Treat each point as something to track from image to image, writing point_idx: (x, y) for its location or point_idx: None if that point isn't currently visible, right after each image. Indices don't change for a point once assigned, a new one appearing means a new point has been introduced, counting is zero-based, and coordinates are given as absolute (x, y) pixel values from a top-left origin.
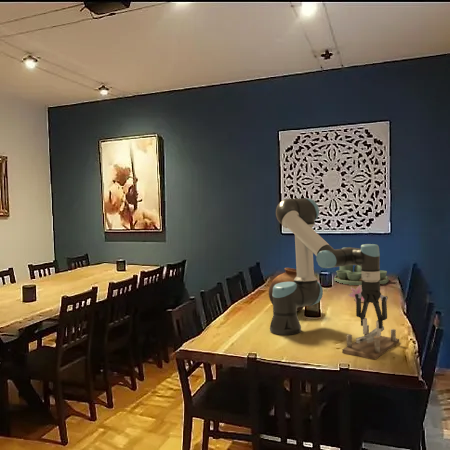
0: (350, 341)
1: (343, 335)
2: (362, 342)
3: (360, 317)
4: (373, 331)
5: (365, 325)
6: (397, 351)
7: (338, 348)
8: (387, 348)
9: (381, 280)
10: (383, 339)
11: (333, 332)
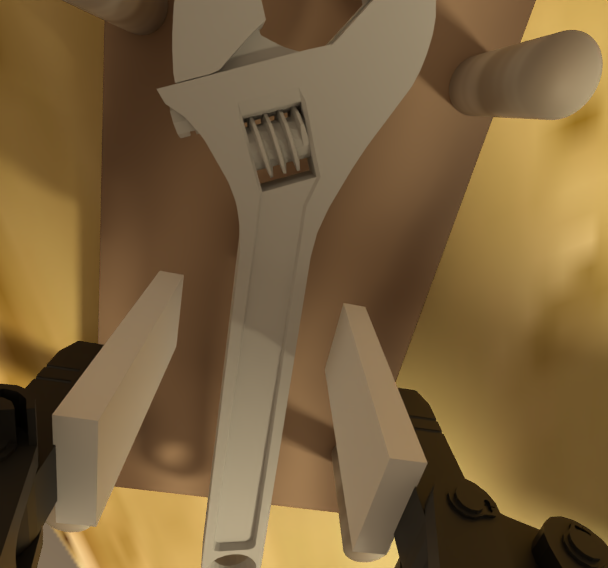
0: (496, 55)
1: (527, 465)
2: (360, 292)
3: (491, 502)
4: (264, 424)
5: (353, 400)
6: (30, 243)
7: (573, 114)
8: (105, 232)
9: None
10: (204, 432)
11: (601, 498)
